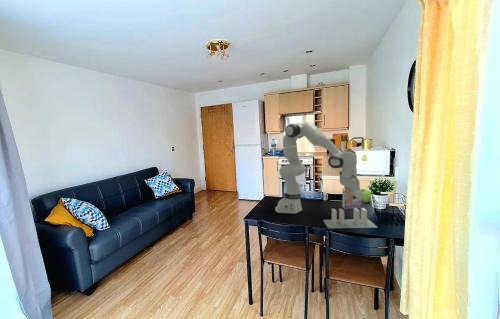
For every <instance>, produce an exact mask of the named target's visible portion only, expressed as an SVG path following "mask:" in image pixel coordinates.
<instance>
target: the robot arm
mask: <svg viewBox="0 0 500 319" xmlns="http://www.w3.org/2000/svg"><path fill="white" fill-rule="evenodd" d="M284 129H285V130H284V133H285V134H284V135H283V138H282V148H283V155H284V156H283V157H284V159H286V160H287V161H288V164H284V165H282V166H281V167H280V168H279V172H278V173H279V175H280V177H281V178H282V179H283V180H284V183H285V189H286V192H282V193H283V198H281V199H280V200H279V201H277V202H278V203H277V206H275V208H274V210H275V212H276V213H279V214H298V213H299V212H301V211H303V208H302V202H301V196H302V195H301V194H302V193H301V188H300V187H301V186H300V185H301V184H300V183H299V182H298V181H297V179H296V177H298V176H301V175H303V174H304V173H305V172H306V167H305V164H304V163H302V161H301V159H300V156H299V152H298V144H297V143H298V142H297V141H298V139H302V138H303V137H305V138H306V139H307V141H308V142H309V143H311V145H313V146H315V147H321V148H324V149H326V150H327V151H328V152H329V153H330V154H331V156H329V158H328V162H327V163H328V165H329V167H330V168H332V169H339V168H341V171H339V172H338V175H339V183H340V185H341V186H343V188H345V192H346V188H347V187H348V188H350V189H351V192H350V195H351V196H352V195H354V191H359V190H360V189H361V188H360V187H361V186H360V180H359V178H358V176H357V175H358V174H357V173H358V170H357V165H358V164H357V163H358V159H357V153H356V151H355V150H352V149H344V150H341V149H340V148H339V147H338V145H336V144H335V143H334V142H332V141H331V140H330V139H329V137H327V136H326V135H325V133H324V132H322V130H320V129H319V127H317V125H316V124H314V123H313V122H311V121H306V122H304V123H290V124H287V125H286V127H285V128H284Z"/></svg>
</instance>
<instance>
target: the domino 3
mask: <svg viewBox="0 0 500 319" xmlns="http://www.w3.org/2000/svg"><path fill="white" fill-rule="evenodd" d="M350 192H351V189H350V188H348V187H347V188H346V202H348V203H349V204H352V197H353V195H352V196H351V195H350Z"/></svg>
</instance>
